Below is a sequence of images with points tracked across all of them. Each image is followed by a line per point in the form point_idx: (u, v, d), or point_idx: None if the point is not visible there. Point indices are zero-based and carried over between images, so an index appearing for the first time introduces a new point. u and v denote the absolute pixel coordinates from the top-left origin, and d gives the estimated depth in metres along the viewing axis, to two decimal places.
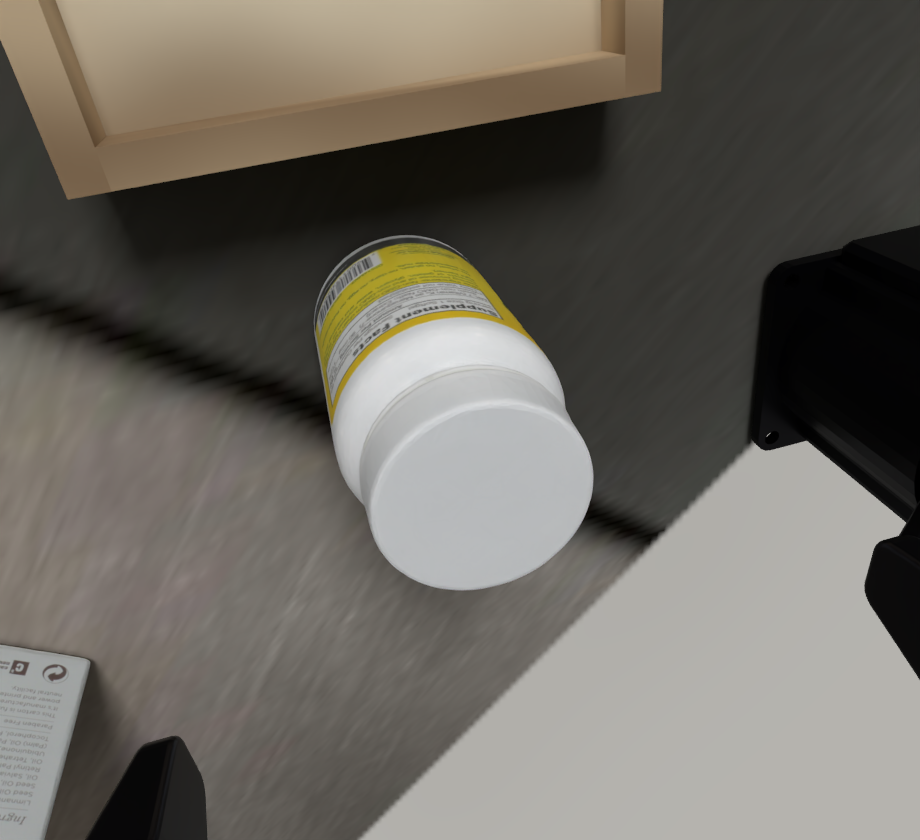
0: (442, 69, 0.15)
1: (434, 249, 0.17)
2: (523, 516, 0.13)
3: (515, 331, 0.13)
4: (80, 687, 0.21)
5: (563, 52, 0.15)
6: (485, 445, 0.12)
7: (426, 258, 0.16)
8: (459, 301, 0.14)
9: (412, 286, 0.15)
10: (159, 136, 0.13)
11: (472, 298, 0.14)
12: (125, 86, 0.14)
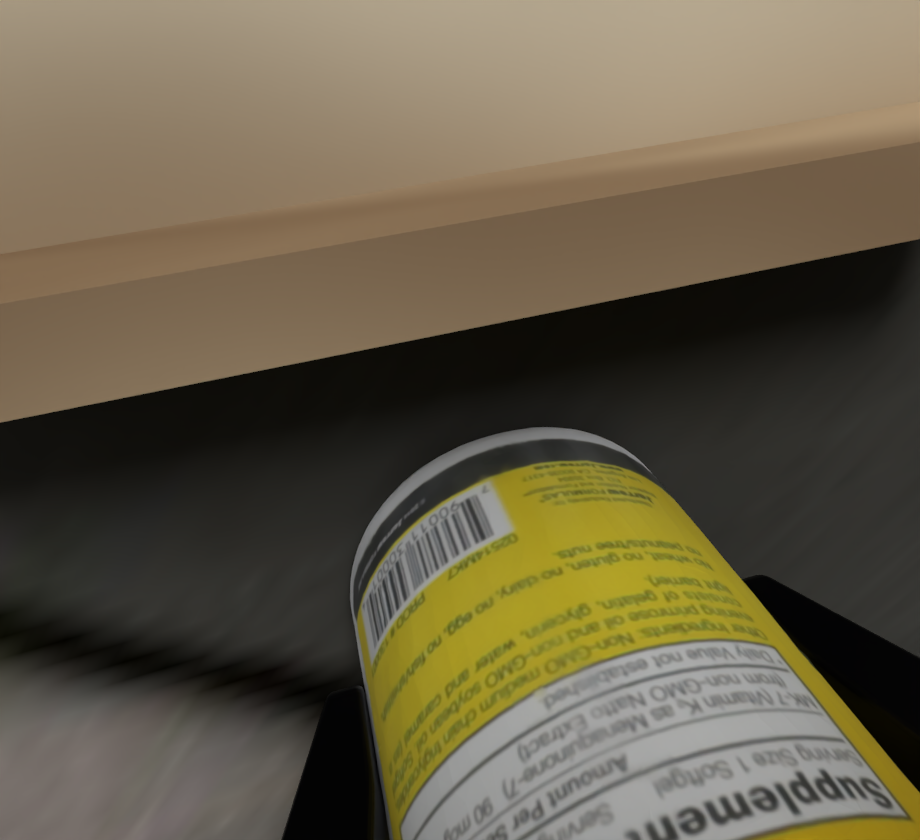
0: (693, 120, 0.06)
1: (609, 478, 0.08)
2: None
3: None
4: None
5: None
6: None
7: (611, 521, 0.07)
8: (785, 757, 0.05)
9: (628, 663, 0.06)
10: None
11: (793, 715, 0.06)
12: None
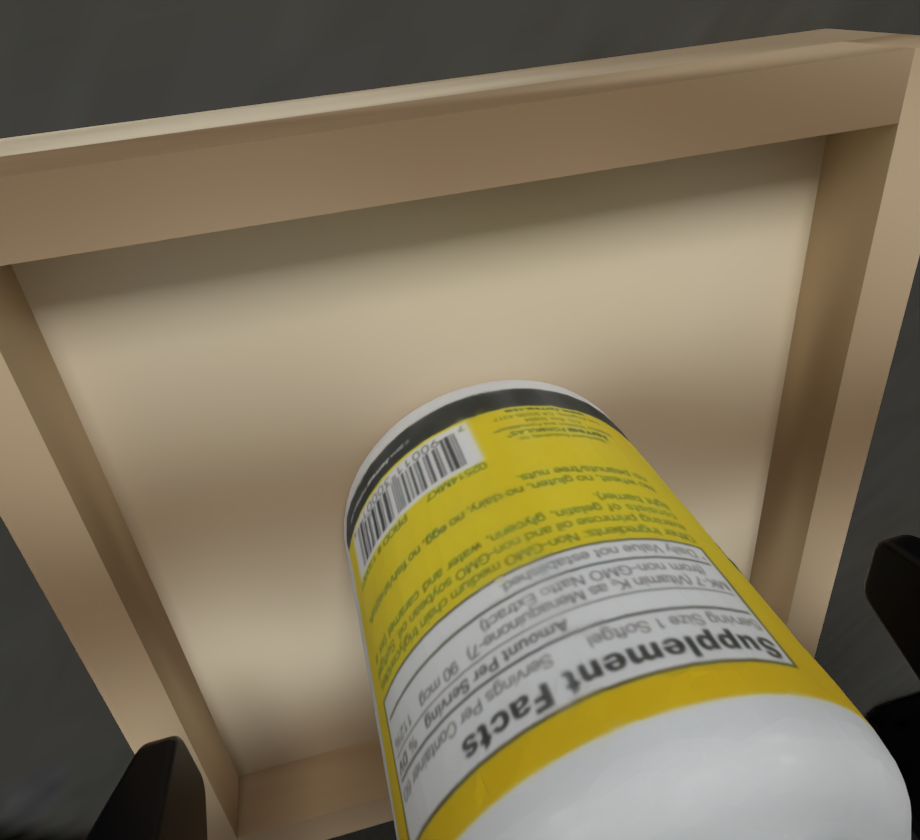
0: None
1: (570, 420, 0.09)
2: None
3: (838, 709, 0.06)
4: None
5: None
6: None
7: (568, 451, 0.09)
8: (695, 619, 0.06)
9: (573, 554, 0.07)
10: (303, 817, 0.13)
11: (707, 593, 0.07)
12: (264, 741, 0.13)
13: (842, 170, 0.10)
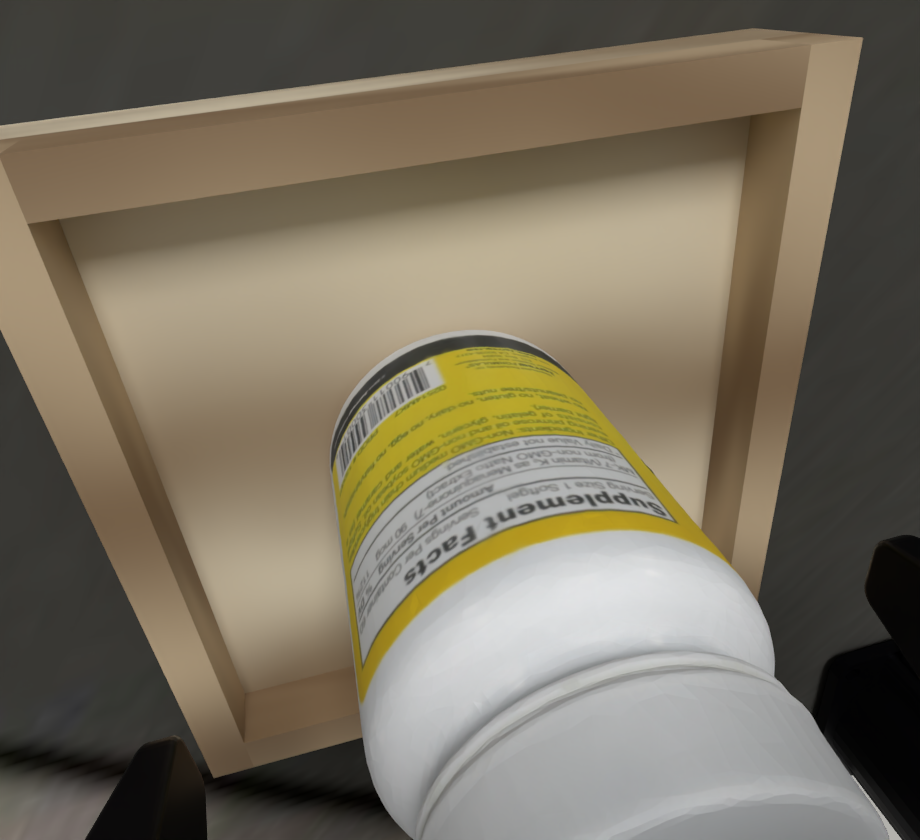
0: None
1: (522, 358, 0.11)
2: None
3: (705, 551, 0.07)
4: None
5: None
6: None
7: (515, 378, 0.10)
8: (596, 485, 0.08)
9: (505, 443, 0.09)
10: (302, 726, 0.14)
11: (613, 472, 0.08)
12: (267, 661, 0.15)
13: (762, 149, 0.11)
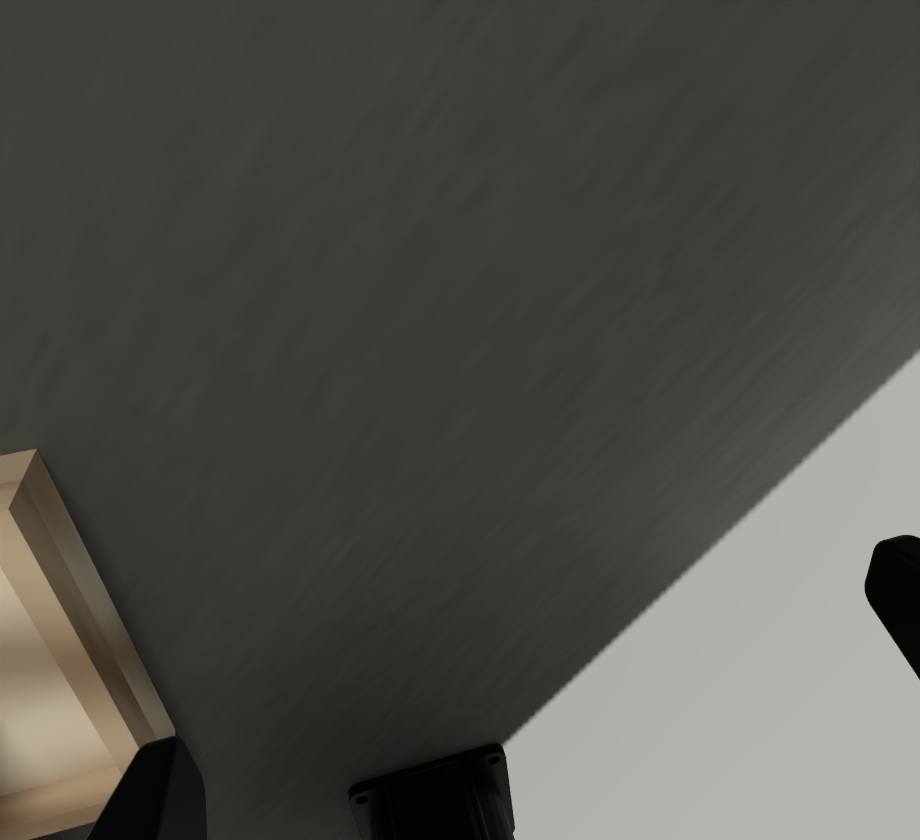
0: (20, 788, 0.23)
1: None
2: None
3: None
4: None
5: (109, 766, 0.23)
6: None
7: None
8: None
9: None
10: None
11: None
12: None
13: None
